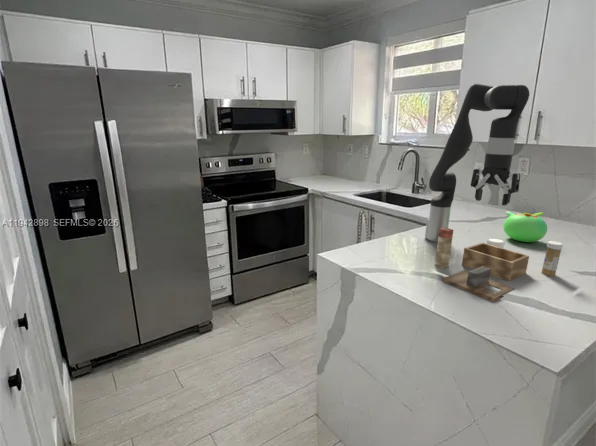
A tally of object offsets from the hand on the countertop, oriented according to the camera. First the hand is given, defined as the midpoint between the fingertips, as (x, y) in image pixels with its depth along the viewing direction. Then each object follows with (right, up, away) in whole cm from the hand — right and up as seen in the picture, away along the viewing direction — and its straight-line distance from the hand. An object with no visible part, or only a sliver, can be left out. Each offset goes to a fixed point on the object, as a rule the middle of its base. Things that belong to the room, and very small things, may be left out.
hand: (491, 202), depth 116 cm
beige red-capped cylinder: (-7, -24, +24) cm, 35 cm away
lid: (0, -29, +8) cm, 30 cm away
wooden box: (+12, -25, +21) cm, 35 cm away
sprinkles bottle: (+31, -27, +17) cm, 44 cm away
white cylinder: (+22, -21, +38) cm, 49 cm away
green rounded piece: (+48, -16, +59) cm, 77 cm away
